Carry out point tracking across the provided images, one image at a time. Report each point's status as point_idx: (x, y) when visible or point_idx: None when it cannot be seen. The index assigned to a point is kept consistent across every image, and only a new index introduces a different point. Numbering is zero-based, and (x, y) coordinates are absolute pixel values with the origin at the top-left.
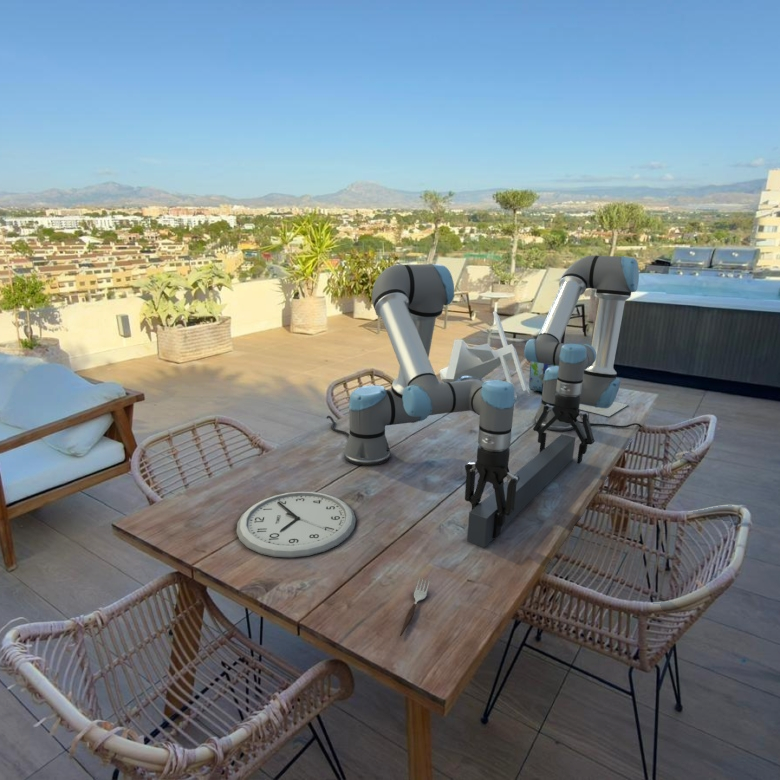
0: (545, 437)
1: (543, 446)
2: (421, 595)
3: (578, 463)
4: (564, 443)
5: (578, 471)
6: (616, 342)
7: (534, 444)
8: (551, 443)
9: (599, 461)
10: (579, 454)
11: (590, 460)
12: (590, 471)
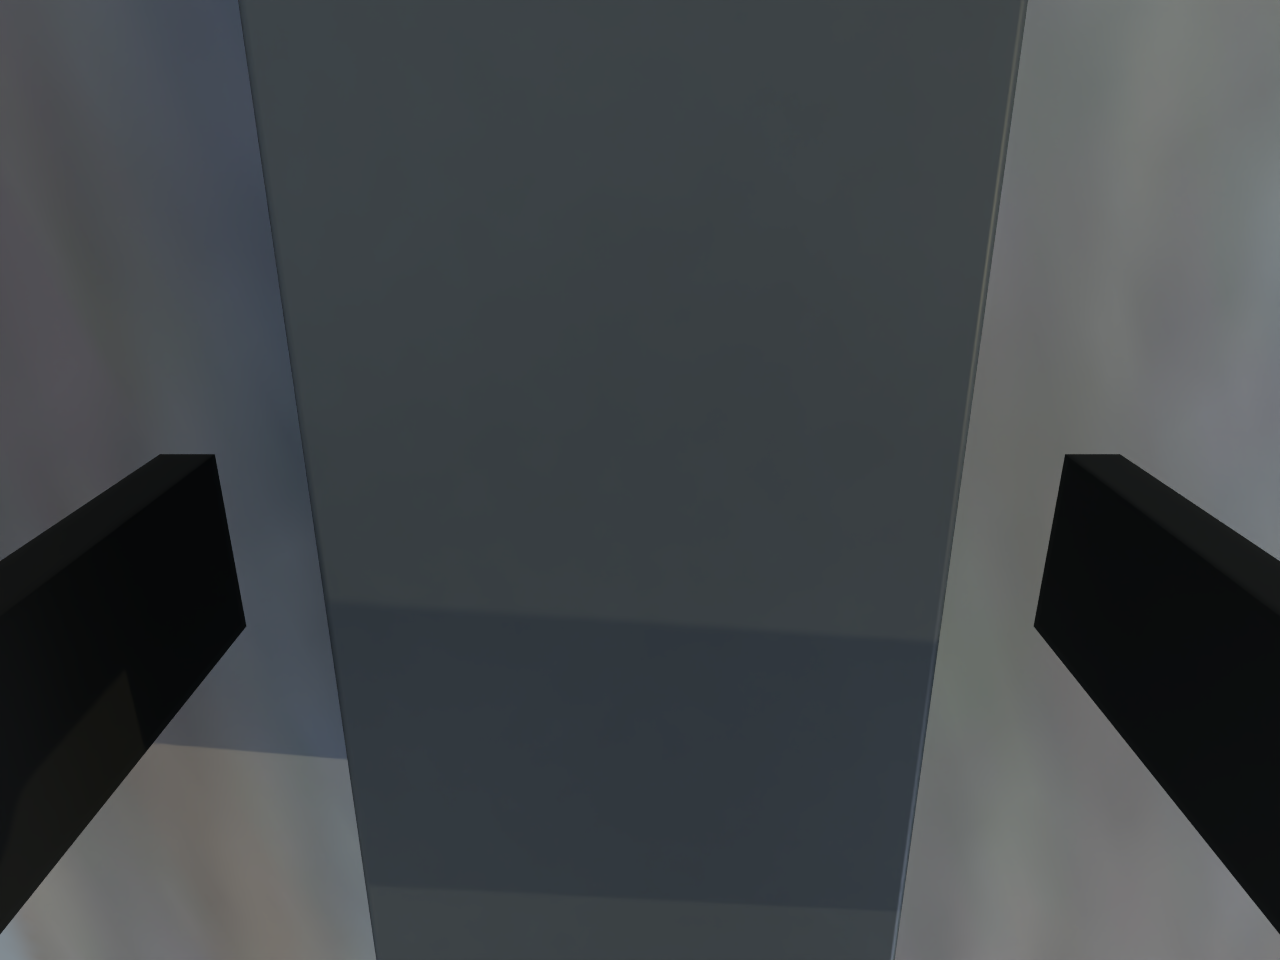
0: (1270, 858)
1: (1129, 614)
2: None
3: (172, 455)
4: (475, 675)
5: (211, 371)
6: None
7: (1246, 933)
8: (941, 343)
9: (162, 935)
10: (38, 560)
11: (280, 894)
12: (57, 511)
